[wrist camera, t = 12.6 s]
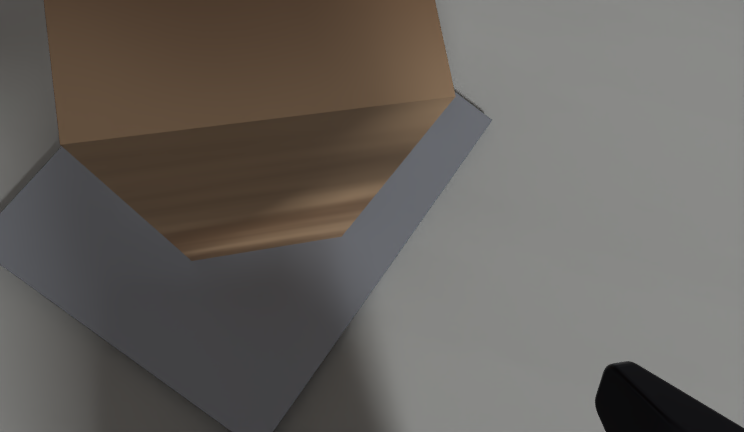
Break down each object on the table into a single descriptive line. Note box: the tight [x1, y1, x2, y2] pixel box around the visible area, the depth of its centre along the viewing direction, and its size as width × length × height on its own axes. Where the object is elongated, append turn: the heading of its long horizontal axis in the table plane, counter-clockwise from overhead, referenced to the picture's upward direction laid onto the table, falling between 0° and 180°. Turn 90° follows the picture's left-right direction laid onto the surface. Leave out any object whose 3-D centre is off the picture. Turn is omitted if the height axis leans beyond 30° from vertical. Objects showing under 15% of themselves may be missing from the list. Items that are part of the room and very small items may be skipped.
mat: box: [0, 91, 492, 432], centre depth 21 cm, size 14×11×1 cm
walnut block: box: [44, 0, 456, 261], centre depth 14 cm, size 5×5×13 cm
